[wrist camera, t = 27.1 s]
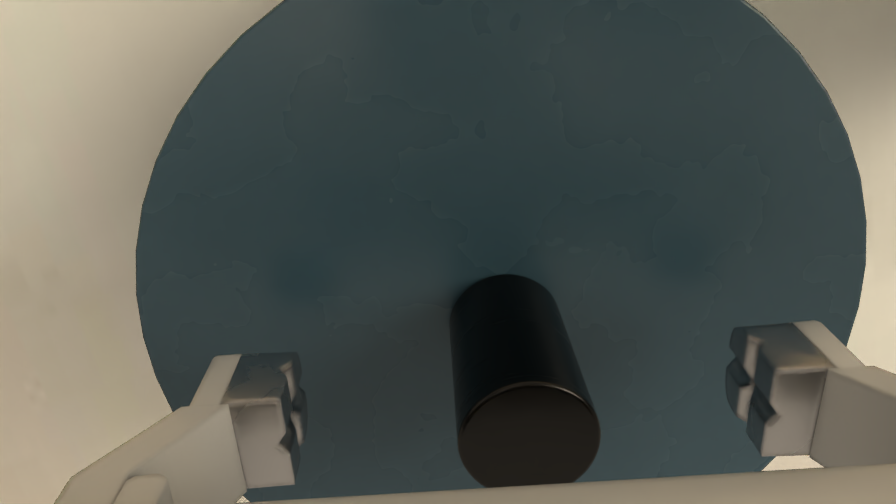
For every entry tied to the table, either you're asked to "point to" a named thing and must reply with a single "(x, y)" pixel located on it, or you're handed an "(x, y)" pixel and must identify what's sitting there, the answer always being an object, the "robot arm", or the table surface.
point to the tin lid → (500, 233)
